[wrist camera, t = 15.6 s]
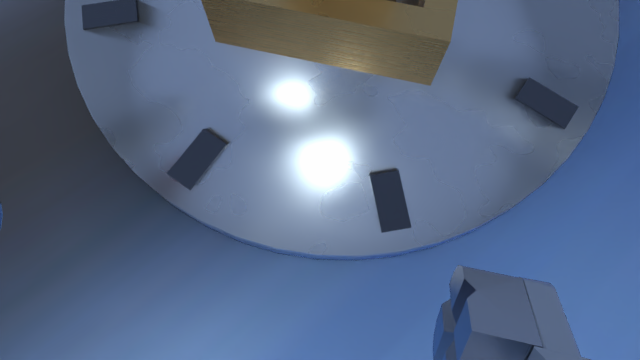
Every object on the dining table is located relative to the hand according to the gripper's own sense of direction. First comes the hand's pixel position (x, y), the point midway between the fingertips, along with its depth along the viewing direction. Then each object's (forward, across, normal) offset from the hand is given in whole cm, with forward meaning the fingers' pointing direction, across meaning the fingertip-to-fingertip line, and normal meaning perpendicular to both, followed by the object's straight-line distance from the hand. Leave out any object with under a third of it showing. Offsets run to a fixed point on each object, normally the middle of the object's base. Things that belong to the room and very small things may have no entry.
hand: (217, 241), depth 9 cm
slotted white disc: (+15, 0, -2) cm, 15 cm away
